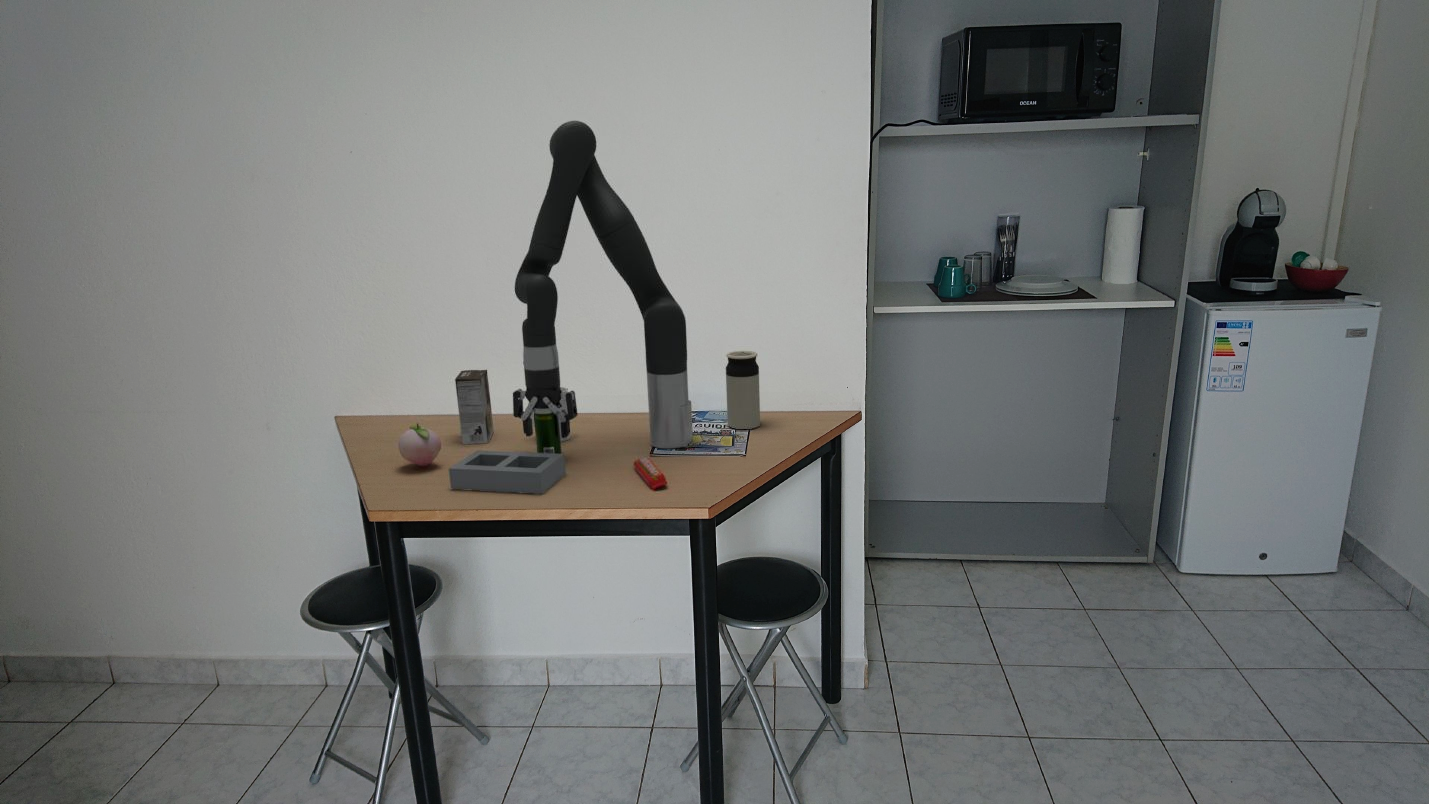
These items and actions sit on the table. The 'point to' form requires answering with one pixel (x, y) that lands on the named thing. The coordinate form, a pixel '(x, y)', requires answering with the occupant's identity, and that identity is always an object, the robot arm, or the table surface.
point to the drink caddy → (508, 471)
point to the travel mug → (742, 390)
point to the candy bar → (650, 472)
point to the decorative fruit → (419, 445)
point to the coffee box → (474, 406)
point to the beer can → (547, 431)
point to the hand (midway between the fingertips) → (547, 436)
